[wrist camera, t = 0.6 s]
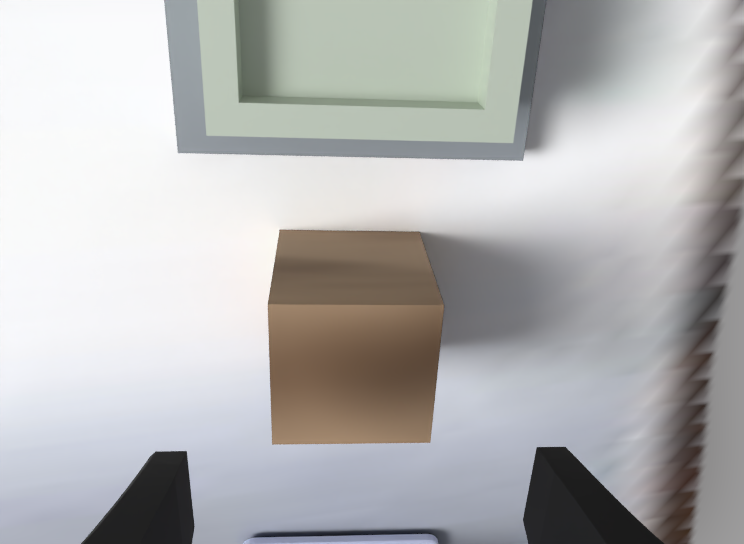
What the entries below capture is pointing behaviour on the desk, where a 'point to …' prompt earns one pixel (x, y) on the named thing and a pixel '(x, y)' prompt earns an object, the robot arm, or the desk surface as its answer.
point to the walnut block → (353, 338)
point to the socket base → (354, 77)
